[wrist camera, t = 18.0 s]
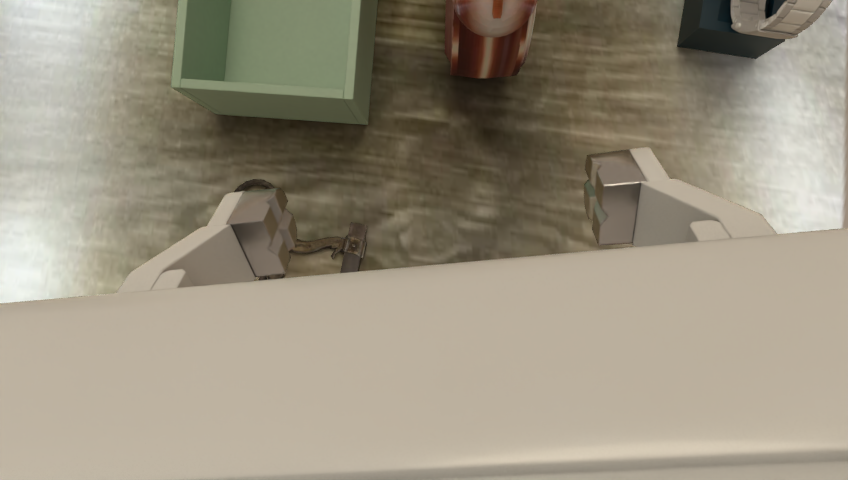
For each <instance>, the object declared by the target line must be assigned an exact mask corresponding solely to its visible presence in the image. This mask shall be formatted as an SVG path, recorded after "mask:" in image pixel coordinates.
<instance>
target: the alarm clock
mask: <svg viewBox="0 0 848 480" xmlns="http://www.w3.org/2000/svg"><path fill="white" fill-rule="evenodd" d="M536 5H537V0H446V12H445V54H446V56H447V58H448V60H449V61H450V75H454V76H463V77H471V78H495V77H505V76H514V75H517V74H518V72H519V70H520V67H521V66H522V65H523V64H524V63H525V60H526V57H527V54H528V51H529V47H530V42H531V37H532V32H533V26H534V20H535V13H536Z"/></svg>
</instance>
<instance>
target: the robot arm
mask: <svg viewBox="0 0 848 480" xmlns="http://www.w3.org/2000/svg"><path fill="white" fill-rule="evenodd" d="M585 171H586V173H587V176H588V178H589V179H588V180H587V182H586V183H585V184H584V204H585V209H586V213H587V216H588V219H590V220H591V221H593V224H592V230H593V233H594V235H595V238H596V241H597V243H598V245H613V244H629V243H633V245H634V246H635V247H629V248H617V249H606V250H595V251H584V252H573V253H561V254H550V255H539V256H528V257H517V258H505V259H494V260H483V261H472V262H461V263H450V264H438V265H427V266H416V267H405V268H393V269H382V270H371V271H360V272H348V273H337V274H326V275H315V276H303V277H292V278H281V279H270V280H259V281H254V280H255V279H256V278H255V277H261V276H270V275H278V274H285V273H286V270H287V267H288V264H289V262H290V259H291V256H290V254H289V251H290V250H291V249H292V248H294V247H295V244H296V241H297V227H296V222H295V219H294V216H293V214H292V213H290V212H289V211H288V210H287V209H285V207H286V205H287V202H288V200H287V198H286V195H285V193H284V191H283V190H282V189H281V188H275V189H264V190H252V191H240V192H232V193H228V194H225V196H224V198H223V199H222V201H221V203H220V204H219V206H218V208H217V210H216V211H215V213H214V215H213V216H212V218H211V220H210V222H209V223H208V225H207V227H201V228H199V229H198V230H196V231H195V232H193V233H191V234H190V235H188V236H187V237H185V238H184V239H182V240H180V241H179V242H177V243H176V244H174V245H173V246H171V247H169V248H168V249H166V250H165V251H163V252H162V253H160V254H158V255H157V256H155V257H154V258H152V259H151V260H149V261H148V262H146V263H144V264H143V265H141V266H140V267H138V268H137V269H135V270H133V271H132V272H130V273H129V275H128V276H127V278H126V279H125V280H124V282H123V283H122V285H121V286H120V288H119V289H118V291H117V292H116V293H113V294H102V295H90V296H79V297H68V298H57V299H45V300H34V301H23V302H11V303H0V480H848V228H842V229H831V230H819V231H808V232H797V233H786V234H777V233H776V232H775V231H774V229H773V228H772V227H771V226H770V224H769V223H768V222H767V221H766V219H765V218H764V217H763V216H762V214H760V213H757V212H755V211H752V210H750V209H748V208H745V207H743V206H740V205H738V204H736V203H733V202H731V201H729V200H726V199H724V198H721V197H719V196H717V195H714V194H712V193H709V192H707V191H705V190H702V189H700V188H697V187H695V186H693V185H690V184H688V183H685V182H683V181H681V180H678V179H670V178H669V176H668V175H667V173H666V172H665V170H664V169H663V167H662V166H661V164H660V163H659V161H658V159H657V158H656V156H655V155H654V153H653V152H652V150H651V149H650V148H649V147H642V148H636V149H628V150H621V151H613V152H606V153H598V154H591V155H587V158H586V164H585Z"/></svg>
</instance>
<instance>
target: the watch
mask: <svg viewBox="0 0 848 480" xmlns="http://www.w3.org/2000/svg"><path fill="white" fill-rule="evenodd" d="M832 1H833V0H685V3H684V9H683V15H682V21H681V27H680V33H679V39H678V45H677V47H683V48H690V49H696V50H703V51H709V52H716V53H722V54H729V55H735V56H741V57H748V58H754V59H756V58H758V57H759V56H761V55H763V54H764V53H766V52H768V51H769V50H771V49H773V48H774V47H776V46H777V45H779V44H781V43H782V42H784V41H785V39H790V38H795V37H797V36H798V33H800V32H802V31H803V30H805V29H807V28H808V27H809V26H810V25H812V24H813V22H815V21H816V20H817V19H818V18H819V17H820V15H821V14H822V13H823V12H824V11H825V9H826V8H827V7H828V6H829V5H830V3H831V2H832Z"/></svg>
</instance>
